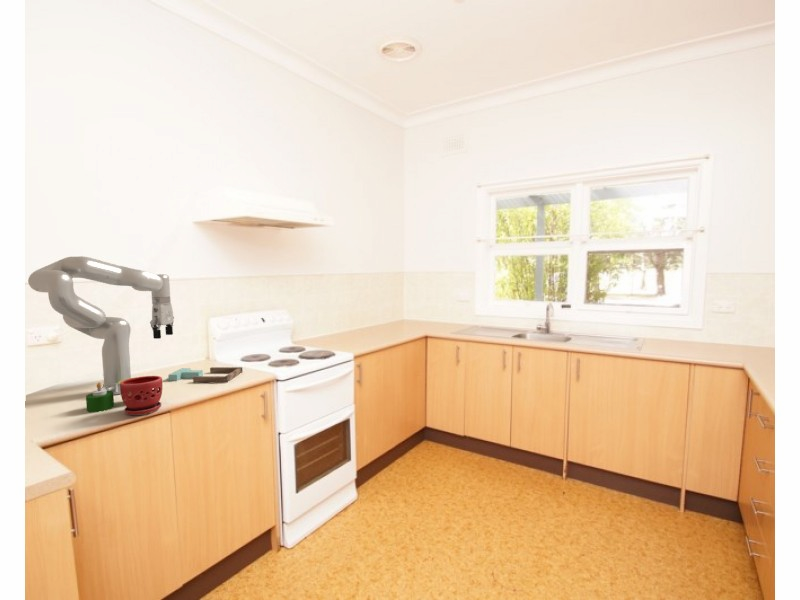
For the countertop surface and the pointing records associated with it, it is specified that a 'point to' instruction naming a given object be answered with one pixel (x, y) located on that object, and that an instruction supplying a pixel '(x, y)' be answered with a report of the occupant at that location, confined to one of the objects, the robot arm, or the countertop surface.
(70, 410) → the countertop surface
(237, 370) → the walnut bay
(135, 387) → the plant pot
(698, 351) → the countertop surface
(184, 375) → the teal T-block
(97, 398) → the candle
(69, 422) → the countertop surface
